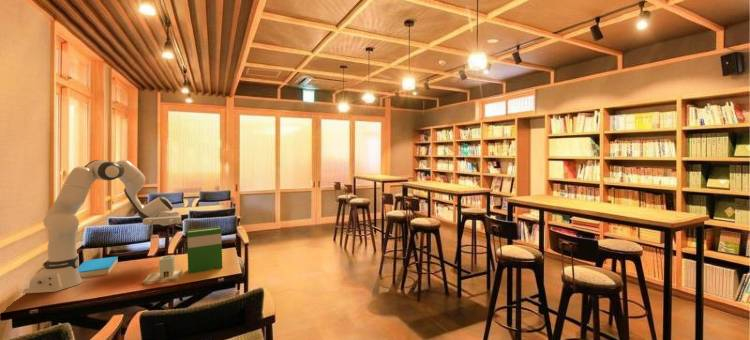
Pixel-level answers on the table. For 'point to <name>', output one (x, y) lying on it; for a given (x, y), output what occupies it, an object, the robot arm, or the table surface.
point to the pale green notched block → (167, 265)
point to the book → (97, 266)
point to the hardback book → (204, 249)
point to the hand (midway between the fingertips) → (159, 222)
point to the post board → (156, 278)
